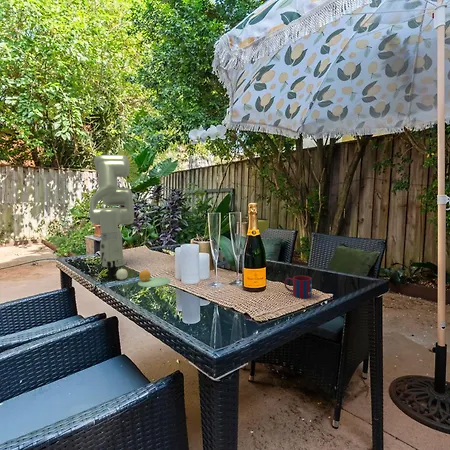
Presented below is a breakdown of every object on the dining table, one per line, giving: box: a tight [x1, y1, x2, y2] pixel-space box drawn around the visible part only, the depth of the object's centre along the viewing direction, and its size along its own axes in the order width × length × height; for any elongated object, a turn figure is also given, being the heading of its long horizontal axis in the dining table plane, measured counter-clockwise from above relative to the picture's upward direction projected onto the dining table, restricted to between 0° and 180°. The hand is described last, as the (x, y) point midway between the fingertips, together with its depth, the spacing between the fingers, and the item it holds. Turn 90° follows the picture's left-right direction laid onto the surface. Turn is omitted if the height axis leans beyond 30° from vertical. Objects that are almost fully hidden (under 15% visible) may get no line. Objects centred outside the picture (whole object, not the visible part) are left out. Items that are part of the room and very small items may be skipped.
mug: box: [283, 275, 313, 300], centre depth 115 cm, size 7×10×7 cm
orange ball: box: [138, 269, 151, 281], centre depth 138 cm, size 5×5×5 cm
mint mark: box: [137, 276, 171, 288], centre depth 136 cm, size 14×14×1 cm
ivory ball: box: [115, 268, 129, 281], centre depth 141 cm, size 5×5×5 cm
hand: (112, 274), depth 144 cm, fingers closed
